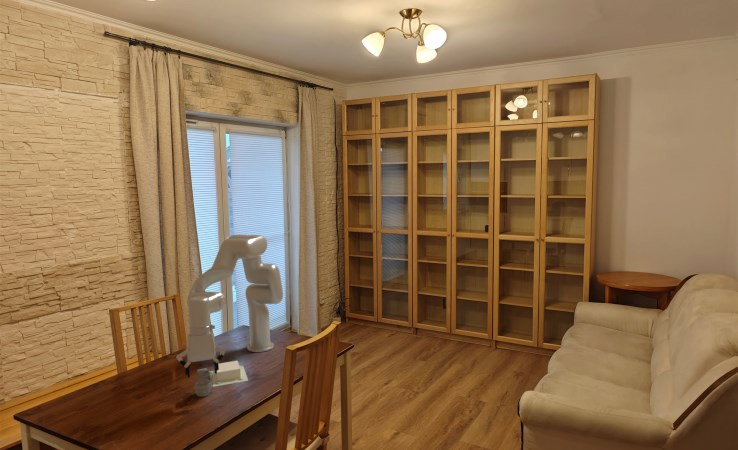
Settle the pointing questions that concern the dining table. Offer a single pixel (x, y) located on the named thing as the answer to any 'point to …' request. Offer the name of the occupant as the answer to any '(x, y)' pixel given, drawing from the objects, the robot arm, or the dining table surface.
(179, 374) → the dining table surface
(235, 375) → the cream brick
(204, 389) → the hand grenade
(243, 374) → the base plate
